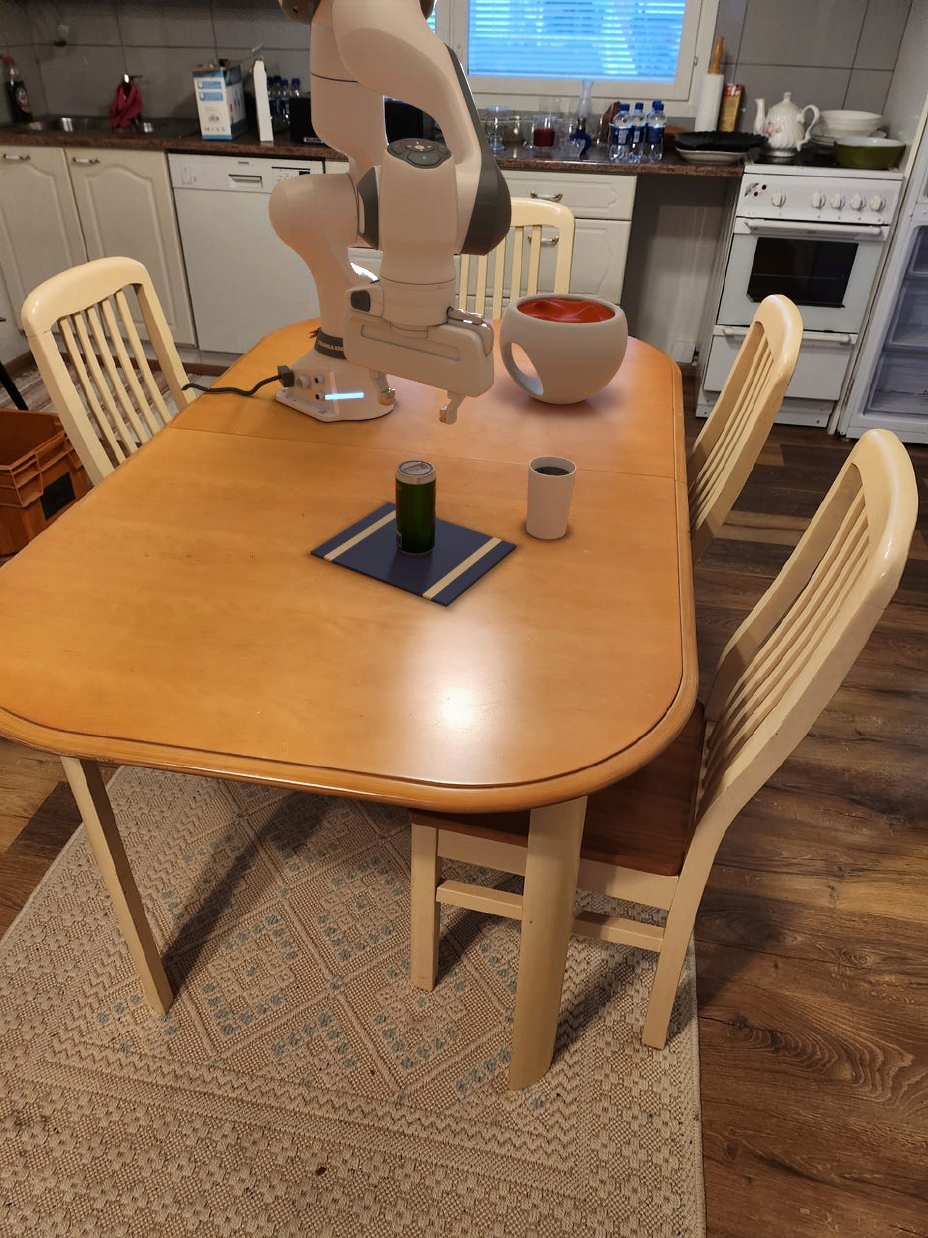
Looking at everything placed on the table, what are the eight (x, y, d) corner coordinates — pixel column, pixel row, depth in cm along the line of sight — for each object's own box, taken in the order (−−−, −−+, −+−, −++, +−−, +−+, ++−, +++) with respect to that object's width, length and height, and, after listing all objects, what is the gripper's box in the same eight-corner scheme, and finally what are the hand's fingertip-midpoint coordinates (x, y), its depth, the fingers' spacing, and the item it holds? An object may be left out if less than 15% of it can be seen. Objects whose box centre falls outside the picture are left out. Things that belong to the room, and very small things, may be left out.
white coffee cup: (538, 544, 122) (544, 479, 116) (514, 523, 127) (519, 460, 121) (577, 535, 124) (586, 471, 119) (553, 514, 129) (559, 452, 124)
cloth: (310, 554, 117) (310, 551, 117) (388, 504, 130) (388, 501, 130) (446, 606, 108) (446, 603, 108) (516, 547, 121) (516, 544, 121)
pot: (616, 425, 158) (631, 327, 148) (487, 412, 161) (492, 314, 151) (620, 381, 178) (633, 291, 168) (504, 370, 181) (510, 281, 171)
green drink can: (408, 562, 116) (408, 480, 109) (388, 544, 120) (387, 464, 113) (442, 551, 118) (444, 471, 112) (422, 534, 122) (422, 455, 115)
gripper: (508, 311, 99) (500, 425, 107) (365, 279, 107) (367, 387, 115) (479, 324, 94) (473, 442, 102) (332, 289, 103) (337, 401, 111)
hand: (416, 412), depth 109 cm, fingers open, 8 cm apart
